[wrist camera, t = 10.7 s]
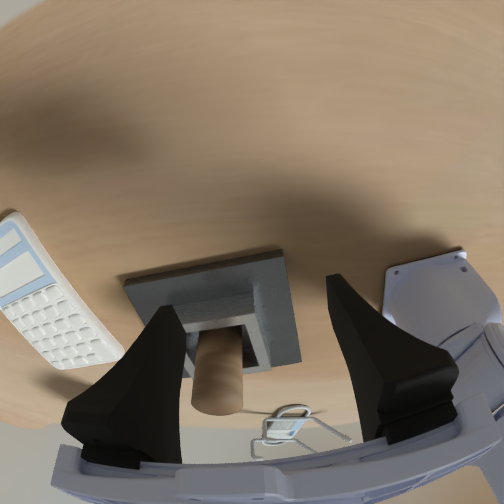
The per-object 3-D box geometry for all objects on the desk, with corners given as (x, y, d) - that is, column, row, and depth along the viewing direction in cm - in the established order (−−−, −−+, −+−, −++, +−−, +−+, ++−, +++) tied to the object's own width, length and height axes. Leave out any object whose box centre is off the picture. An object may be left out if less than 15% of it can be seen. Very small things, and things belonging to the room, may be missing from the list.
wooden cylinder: (236, 312, 27) (236, 389, 20) (246, 341, 29) (248, 413, 22) (193, 319, 27) (183, 394, 20) (206, 346, 29) (201, 416, 22)
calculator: (61, 362, 34) (57, 373, 32) (-31, 250, 24) (-40, 259, 22) (129, 349, 32) (126, 362, 30) (21, 203, 22) (10, 213, 20)
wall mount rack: (266, 401, 38) (269, 438, 33) (354, 401, 40) (362, 434, 35) (246, 441, 46) (247, 469, 41) (317, 440, 48) (321, 467, 43)
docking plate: (282, 249, 25) (287, 275, 22) (300, 354, 32) (305, 380, 29) (126, 279, 26) (114, 306, 23) (180, 371, 33) (177, 396, 30)
